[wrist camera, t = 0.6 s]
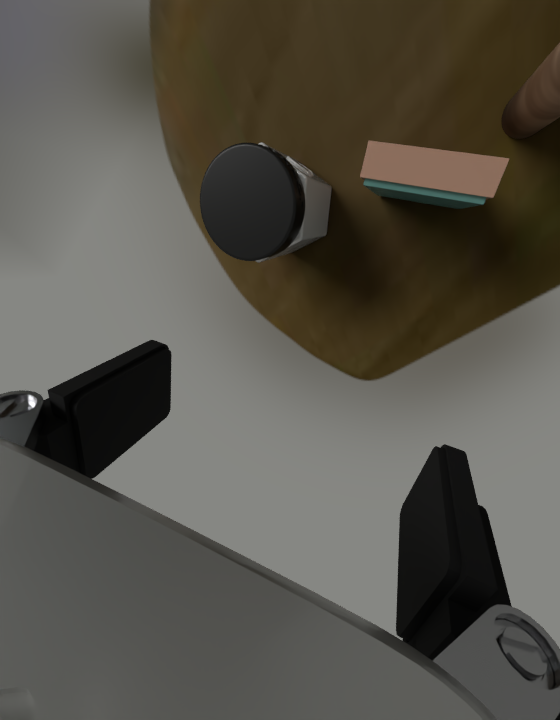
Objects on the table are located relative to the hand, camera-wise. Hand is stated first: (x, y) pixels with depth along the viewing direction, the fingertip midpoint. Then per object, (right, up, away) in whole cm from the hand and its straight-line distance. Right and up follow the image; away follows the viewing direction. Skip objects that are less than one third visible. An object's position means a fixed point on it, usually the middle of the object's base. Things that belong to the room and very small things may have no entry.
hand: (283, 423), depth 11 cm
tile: (+13, +18, +19) cm, 30 cm away
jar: (+2, +19, +24) cm, 30 cm away
